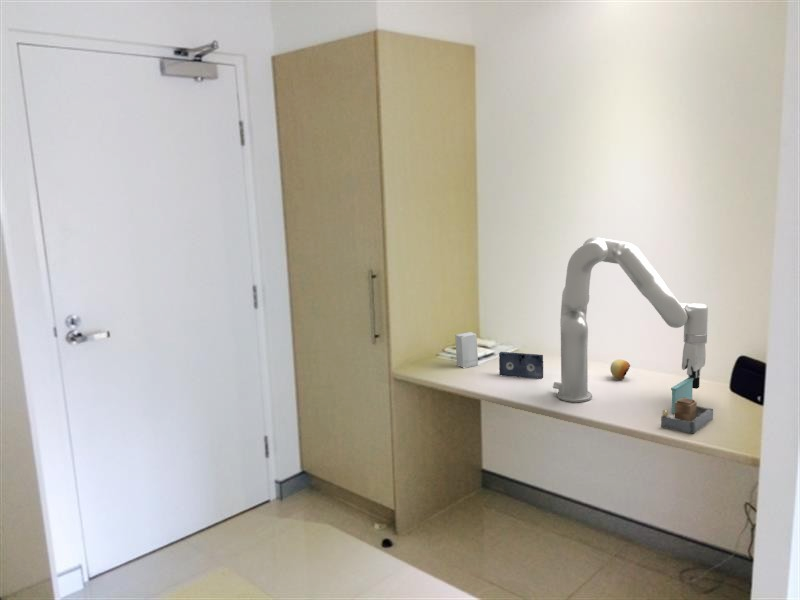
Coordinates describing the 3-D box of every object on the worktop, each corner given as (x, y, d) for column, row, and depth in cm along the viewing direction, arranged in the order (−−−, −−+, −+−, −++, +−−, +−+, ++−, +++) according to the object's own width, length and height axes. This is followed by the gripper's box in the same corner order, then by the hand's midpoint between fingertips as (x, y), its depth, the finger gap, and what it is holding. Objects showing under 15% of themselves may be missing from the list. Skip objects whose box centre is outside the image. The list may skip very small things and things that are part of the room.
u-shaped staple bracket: (660, 426, 209) (661, 410, 208) (681, 412, 220) (682, 397, 219) (692, 434, 202) (693, 417, 201) (713, 419, 213) (713, 403, 212)
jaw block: (674, 423, 212) (674, 400, 210) (680, 418, 215) (681, 396, 214) (689, 426, 208) (690, 404, 207) (696, 422, 211) (696, 400, 210)
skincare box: (471, 362, 295) (470, 331, 292) (478, 365, 289) (477, 333, 287) (455, 365, 291) (454, 333, 289) (462, 368, 286) (461, 336, 283)
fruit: (627, 375, 264) (627, 356, 262) (632, 381, 255) (632, 362, 254) (608, 376, 264) (608, 357, 263) (612, 382, 256) (612, 362, 255)
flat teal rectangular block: (670, 412, 220) (671, 387, 219) (688, 400, 231) (688, 377, 229) (675, 413, 219) (675, 388, 218) (692, 401, 230) (693, 378, 228)
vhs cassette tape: (543, 377, 267) (543, 354, 266) (541, 379, 265) (541, 356, 263) (501, 373, 276) (500, 351, 274) (499, 375, 273) (498, 353, 272)
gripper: (692, 332, 236) (691, 380, 239) (675, 340, 226) (674, 391, 229) (714, 335, 231) (712, 384, 234) (698, 343, 220) (696, 395, 224)
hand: (693, 387), depth 231 cm, fingers closed
